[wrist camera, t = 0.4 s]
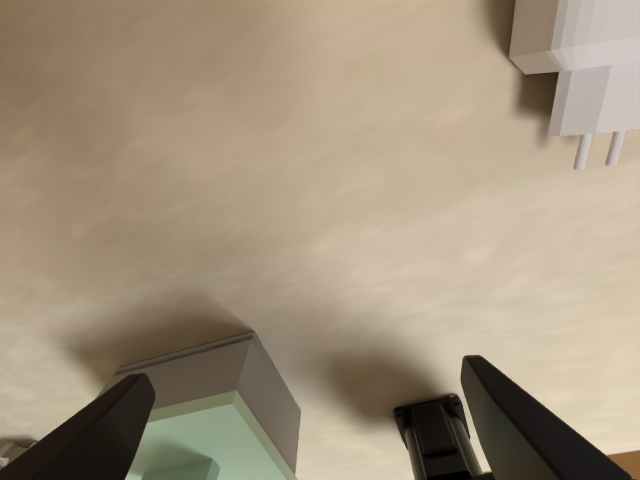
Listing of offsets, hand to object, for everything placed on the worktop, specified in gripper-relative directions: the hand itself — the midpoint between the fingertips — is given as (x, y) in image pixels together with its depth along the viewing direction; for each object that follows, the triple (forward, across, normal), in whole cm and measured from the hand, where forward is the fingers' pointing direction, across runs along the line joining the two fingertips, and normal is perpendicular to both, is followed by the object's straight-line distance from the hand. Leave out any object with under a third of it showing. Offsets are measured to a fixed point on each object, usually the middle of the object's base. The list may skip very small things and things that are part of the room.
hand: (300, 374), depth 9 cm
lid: (+9, +12, +18) cm, 23 cm away
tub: (+14, +12, +18) cm, 26 cm away
